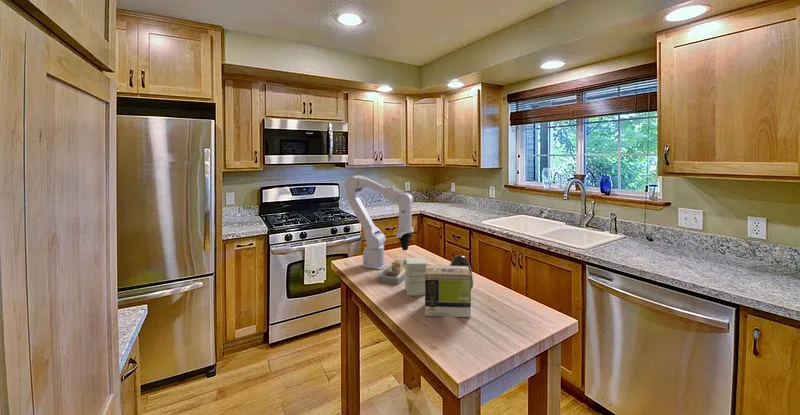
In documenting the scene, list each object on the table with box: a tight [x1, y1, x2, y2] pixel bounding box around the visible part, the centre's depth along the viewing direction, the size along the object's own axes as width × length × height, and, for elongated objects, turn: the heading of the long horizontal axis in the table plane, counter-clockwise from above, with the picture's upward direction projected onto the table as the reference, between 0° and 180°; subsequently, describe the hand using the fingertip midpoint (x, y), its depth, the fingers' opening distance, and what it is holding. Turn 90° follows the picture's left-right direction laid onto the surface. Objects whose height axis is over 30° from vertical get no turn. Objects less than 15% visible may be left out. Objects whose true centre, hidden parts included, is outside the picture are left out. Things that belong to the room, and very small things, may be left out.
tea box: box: [424, 264, 472, 318], centre depth 122 cm, size 15×10×15 cm, turn 84°
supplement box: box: [404, 257, 427, 297], centre depth 139 cm, size 7×7×13 cm
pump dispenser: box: [449, 254, 474, 290], centre depth 137 cm, size 10×10×15 cm
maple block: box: [391, 259, 404, 273], centre depth 156 cm, size 4×4×4 cm
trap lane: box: [378, 257, 405, 286], centre depth 160 cm, size 9×24×4 cm, turn 156°
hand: (405, 249), depth 164 cm, fingers closed
